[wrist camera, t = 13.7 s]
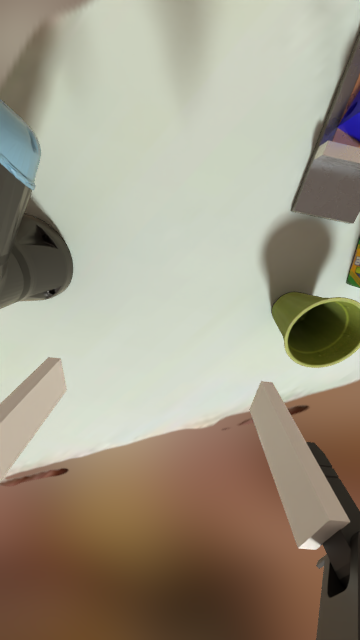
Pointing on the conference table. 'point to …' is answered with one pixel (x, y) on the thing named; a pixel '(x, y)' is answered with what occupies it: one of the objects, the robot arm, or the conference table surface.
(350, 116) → the cable clip
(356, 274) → the chalk box
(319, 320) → the plant pot
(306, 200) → the grey tray
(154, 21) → the conference table surface
